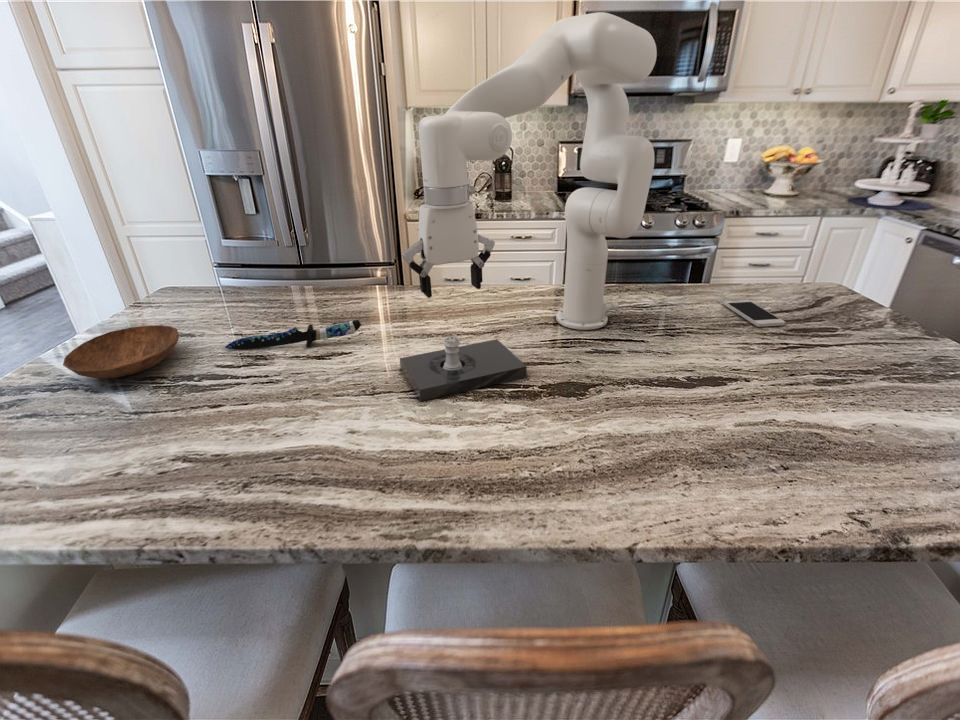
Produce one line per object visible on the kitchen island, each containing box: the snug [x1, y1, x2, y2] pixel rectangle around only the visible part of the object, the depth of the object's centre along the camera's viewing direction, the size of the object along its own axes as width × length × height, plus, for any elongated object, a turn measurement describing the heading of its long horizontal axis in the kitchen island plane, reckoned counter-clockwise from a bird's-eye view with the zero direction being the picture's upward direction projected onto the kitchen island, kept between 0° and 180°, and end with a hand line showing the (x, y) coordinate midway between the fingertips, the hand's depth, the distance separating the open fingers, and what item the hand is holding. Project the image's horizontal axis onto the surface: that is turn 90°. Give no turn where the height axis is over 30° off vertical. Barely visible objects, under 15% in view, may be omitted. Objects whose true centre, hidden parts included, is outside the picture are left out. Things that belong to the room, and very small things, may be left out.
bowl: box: [62, 324, 180, 380], centre depth 105 cm, size 20×22×5 cm
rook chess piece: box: [442, 335, 463, 370], centre depth 99 cm, size 4×4×8 cm
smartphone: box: [723, 299, 786, 328], centre depth 126 cm, size 7×15×1 cm, turn 6°
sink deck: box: [399, 339, 528, 402], centre depth 100 cm, size 22×14×2 cm, turn 113°
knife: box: [225, 319, 362, 351], centre depth 113 cm, size 31×3×4 cm, turn 93°
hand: (452, 291), depth 93 cm, fingers open, 9 cm apart
